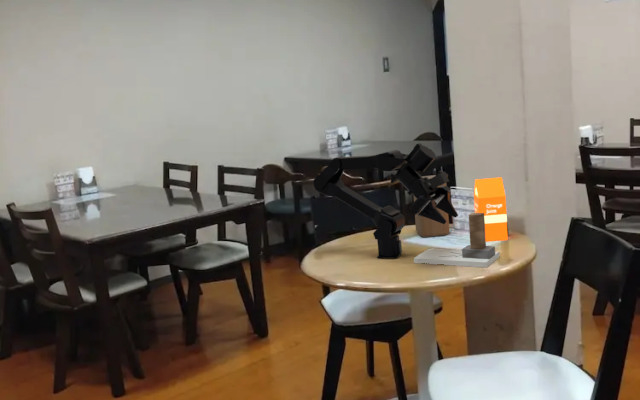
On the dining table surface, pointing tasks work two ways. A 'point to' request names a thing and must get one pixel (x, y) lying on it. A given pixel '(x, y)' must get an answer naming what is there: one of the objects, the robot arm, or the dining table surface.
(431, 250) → the primed board
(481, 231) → the brown post on stand
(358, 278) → the dining table surface
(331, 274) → the dining table surface
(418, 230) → the wooden block
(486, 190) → the orange juice
